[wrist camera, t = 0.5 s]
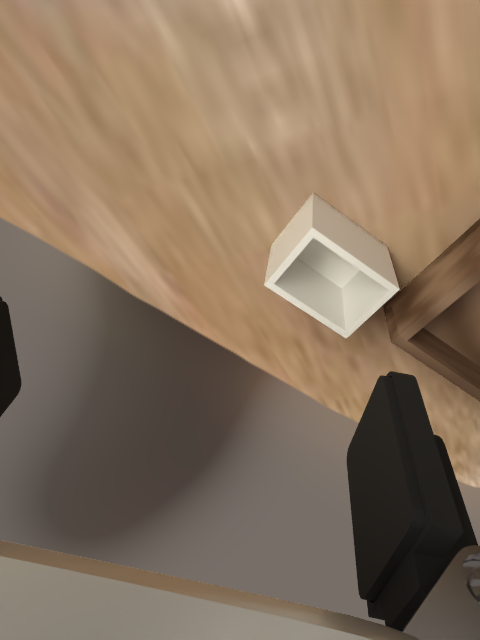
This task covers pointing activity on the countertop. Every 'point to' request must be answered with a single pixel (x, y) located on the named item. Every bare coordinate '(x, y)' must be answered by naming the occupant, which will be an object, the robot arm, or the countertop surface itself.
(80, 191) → the countertop surface
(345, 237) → the box
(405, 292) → the big crate
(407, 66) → the countertop surface
